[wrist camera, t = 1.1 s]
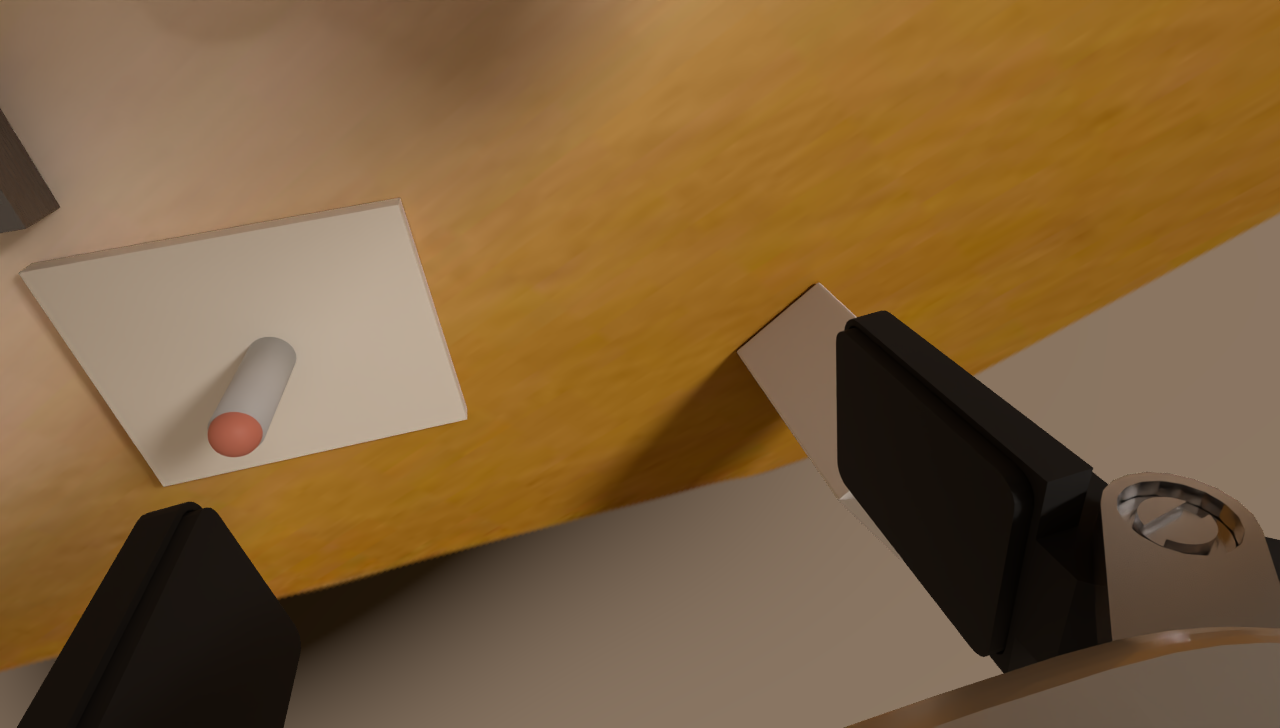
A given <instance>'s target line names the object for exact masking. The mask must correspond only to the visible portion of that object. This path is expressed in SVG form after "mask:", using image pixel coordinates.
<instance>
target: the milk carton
mask: <svg viewBox="0 0 1280 728" xmlns="http://www.w3.org/2000/svg"><path fill="white" fill-rule="evenodd" d="M853 318H857V317H856V316H855V315H854V314H853V313H852V312H851V311H850V310H849V309H847V308H846V307H845V306H844V305H843V304H842V303H841V302H840V301H839V300H838V299H837V298H836V297H834V296H833V295H832V294H831V293H830V292H829V291H828V290H827V289H826V288H825V287H824V286H823V285H821V284H820V283H817V284H816V285H814V286H813V287H812V288H811V289H810V290H809V291H807V292H806V293H805V294H804V295H803V296H801V297H800V298H799V299H798V300H797V301H795V302H794V303H793V304H792V305H791V306H790V307H788V308H787V309H786V310H785V311H784V312H782V313H781V314H780V315H779V316H778V317H777V318H775V319H774V320H773V321H772V322H771V323H769V324H768V325H767V326H766V327H765V328H764V329H762V330H761V331H760V332H759V333H758V334H757V335H755V336H754V337H753V338H752V339H751V340H749V341H748V342H747V343H746V344H745V345H744V346H742V347H741V348H740V349H739V350H738V351H737V353H738V355H739V356H740V358H741V359H742V361H743V362H744V364H745V365H746V367H747V368H748V370H749V371H750V372H751V374H752V375H753V377H754V378H755V380H756V381H757V383H758V384H759V386H760V387H761V389H762V390H763V391H764V393H765V394H766V396H767V397H768V399H769V400H770V402H771V403H772V405H773V406H774V407H775V409H776V410H777V412H778V413H779V415H780V416H781V418H782V419H783V421H784V422H785V424H786V425H787V426H788V428H789V429H790V431H791V432H792V434H793V435H794V437H795V438H796V440H797V441H798V442H799V444H800V445H801V447H802V448H803V450H804V451H805V453H806V454H807V456H808V457H809V459H810V460H811V461H812V463H813V464H814V466H815V467H816V468H817V470H818V472H819V473H820V475H821V476H822V478H823V479H824V480H825V482H826V483H827V484H828V486H829V488H830V489H831V491H832V492H833V493H834V495H835V496H836V498H837V499H838V501H839V502H840V503H841V504H842V505H843V506H844V507H845V508H846V509H847V510H848V511H849V512H850V513H851V514H852V515H853V516H854V517H856V519H858V520H859V521H860V522H861V523H862V524H863V525H864V526H865V527H866V528H867V529H868V530H869V531H870V532H871V533H872V534H873V535H875V537H876V538H878V539H879V540H880V541H881V542H882V543H883V544H884V545H885V546H886V547H887V548H888V549H889V550H890V551H891V552H892V553H893V554H894V555H896V556H897V557H898V558H899V559H901V560H903V559H902V558H901V557H900V555H899V554H898V553H897V552H896V550H895V549H894V548H893V546H892V545H891V544H890V543H889V541H888V540H887V539H886V537H885V536H884V535H883V534H882V532H881V531H880V530H879V528H878V527H877V526H876V525H875V523H874V522H873V521H872V519H871V518H870V517H869V515H868V514H867V513H866V512H865V510H864V509H863V508H862V506H861V505H860V504H859V503H858V501H857V500H856V499H855V497H854V496H853V495H852V494H851V492H850V491H849V490H848V488H847V487H846V486H845V484H844V483H843V481H842V479H841V476H840V473H839V470H838V465H837V398H836V337H837V334H838V333H839V332H841V331H844V329H845V325H846V322H847V321H848V320H850V319H853Z"/></svg>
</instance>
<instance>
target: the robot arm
mask: <svg viewBox="0 0 1280 728" xmlns="http://www.w3.org/2000/svg"><path fill="white" fill-rule="evenodd" d="M836 398H837V465H838V470H839V473H840V476H841V479H842V481H843V483H844V484H845V486H846V487H847V488H848V490H849V491H850V492H851V494H852V495H853V496H854V497H855V499H856V500H857V501H858V503H859V504H860V505H861V506H862V508H863V509H864V510H865V512H866V513H867V514H868V515H869V517H870V518H871V519H872V521H873V522H874V523H875V525H876V526H877V527H878V528H879V530H880V531H881V532H882V534H883V535H884V536H885V537H886V539H887V540H888V541H889V543H890V544H891V545H892V546H893V548H894V549H895V550H896V552H897V553H898V554H899V555H900V557H901V558H902V559H903V561H904V562H905V563H906V565H907V566H908V567H909V568H910V570H911V571H912V572H913V573H914V575H915V576H916V577H917V579H918V580H919V581H920V582H921V584H922V585H923V586H924V588H925V589H926V590H927V592H928V593H929V594H930V595H931V597H932V598H933V599H934V601H935V602H936V603H937V604H938V606H939V607H940V608H941V610H942V611H943V612H944V614H945V615H946V616H947V617H948V619H949V620H950V621H951V622H952V624H953V625H954V626H955V627H956V629H957V630H958V632H959V633H960V634H961V635H962V637H963V638H964V639H965V641H966V642H967V643H968V644H969V646H970V647H971V648H972V649H973V650H974V651H975V652H976V653H977V654H979V655H980V656H983V657H985V656H988V655H990V657H991V658H992V659H993V660H994V662H995V663H996V664H997V666H998V667H999V668H1000V669H1001V670H1002V672H1003V673H1004V674H1001V675H998V676H995V677H992V678H989V679H985V680H983V681H979V682H976V683H973V684H971V685H967V686H964V687H961V688H958V689H955V690H952V691H949V692H946V693H943V694H939V695H937V696H934V697H931V698H928V699H925V700H922V701H919V702H916V703H913V704H911V705H907V706H905V707H902V708H899V709H896V710H893V711H890V712H887V713H884V714H882V715H879V716H876V717H873V718H870V719H867V720H864V721H861V722H858V723H856V724H853V725H850V726H847V727H844V728H1280V540H1277V539H1272V538H1267V537H1265V536H1264V533H1263V530H1262V529H1261V527H1260V525H1259V524H1258V522H1257V520H1256V518H1255V517H1254V515H1253V514H1252V513H1251V512H1250V511H1249V510H1248V509H1246V508H1245V507H1244V506H1243V505H1242V504H1241V503H1240V502H1239V501H1238V500H1236V499H1234V498H1233V497H1231V496H1229V495H1228V494H1226V493H1224V492H1223V491H1221V490H1219V489H1218V488H1215V487H1212V486H1210V485H1208V484H1205V483H1203V482H1200V481H1198V480H1195V479H1192V478H1187V477H1183V476H1179V475H1174V474H1170V473H1156V472H1142V473H1134V474H1127V475H1124V476H1122V477H1120V478H1117V479H1115V480H1113V481H1112V482H1110V484H1109V485H1108V484H1107V483H1106V482H1104V481H1103V480H1102V479H1100V478H1099V477H1098V476H1097V475H1095V474H1094V473H1093V472H1092V470H1093V467H1091V466H1090V465H1089V464H1087V463H1086V462H1085V461H1083V460H1082V459H1081V458H1080V457H1078V456H1077V455H1076V454H1074V453H1073V452H1072V451H1070V450H1069V449H1068V448H1066V447H1065V446H1064V445H1063V444H1061V443H1060V442H1058V441H1057V440H1056V439H1054V438H1053V437H1052V436H1051V435H1049V434H1048V433H1047V432H1045V431H1044V430H1043V429H1042V428H1040V427H1039V426H1037V425H1036V424H1035V423H1034V422H1032V421H1031V420H1030V419H1028V418H1027V417H1026V416H1024V415H1023V414H1022V413H1021V412H1019V411H1018V410H1016V409H1015V408H1014V407H1013V406H1011V405H1010V404H1009V403H1007V402H1006V401H1005V400H1003V399H1002V398H1001V397H1000V396H998V395H997V394H996V393H994V392H993V391H992V390H990V389H989V388H987V387H986V386H985V385H984V384H982V383H981V382H980V381H979V380H977V379H976V378H975V377H973V376H972V375H971V374H969V373H968V372H967V371H965V370H964V369H963V368H962V367H960V366H959V365H958V364H956V363H955V362H954V361H952V360H951V359H950V358H948V357H947V356H946V355H944V354H943V353H942V352H941V351H939V350H938V349H937V348H935V347H934V346H933V345H931V344H930V343H929V342H927V341H926V340H925V339H924V338H922V337H921V336H920V335H918V334H917V333H916V332H914V331H913V330H912V329H910V328H909V327H908V326H906V325H905V324H904V323H903V322H901V321H900V320H899V319H897V318H896V317H895V316H893V315H892V314H891V313H889V312H887V311H878V312H875V313H871V314H868V315H864V316H860V317H857V318H853V319H850V320H848V321H847V322H846V325H845V329H844V331H841V332H839V333H838V334H837V337H836ZM300 651H301V642H300V636H299V633H298V630H297V628H296V626H295V624H294V623H293V622H292V620H291V619H290V617H289V616H288V614H287V613H286V611H285V610H284V609H283V607H282V606H281V604H280V603H279V601H278V600H277V598H276V597H275V596H274V594H273V593H272V591H271V590H270V588H269V587H268V585H267V584H266V583H265V581H264V580H263V578H262V577H261V575H260V574H259V572H258V571H257V570H256V568H255V567H254V565H253V564H252V562H251V561H250V559H249V558H248V557H247V555H246V554H245V552H244V551H243V549H242V548H241V546H240V545H239V544H238V542H237V541H236V539H235V538H234V536H233V535H232V533H231V532H230V530H229V529H228V528H227V526H226V525H225V523H224V522H223V520H222V519H221V517H220V516H219V515H218V513H217V512H216V511H215V510H213V509H212V508H203V509H202V507H201V506H200V505H198V504H196V503H194V502H186V503H182V504H179V505H175V506H171V507H168V508H164V509H160V510H157V511H153V512H150V513H147V514H145V515H142V516H141V517H140V519H139V520H138V521H137V523H136V524H135V526H134V528H133V529H132V531H131V533H130V535H129V536H128V538H127V540H126V541H125V543H124V545H123V547H122V548H121V550H120V552H119V553H118V555H117V557H116V559H115V560H114V562H113V564H112V565H111V567H110V569H109V571H108V572H107V574H106V576H105V577H104V579H103V581H102V583H101V584H100V586H99V588H98V589H97V591H96V593H95V595H94V596H93V598H92V600H91V601H90V603H89V605H88V607H87V608H86V610H85V612H84V613H83V615H82V617H81V619H80V620H79V622H78V624H77V625H76V627H75V629H74V631H73V632H72V634H71V636H70V637H69V639H68V641H67V643H66V644H65V646H64V648H63V649H62V651H61V653H60V654H59V656H58V658H57V660H56V661H55V663H54V665H53V666H52V668H51V670H50V672H49V674H48V675H47V677H46V678H45V680H44V682H43V684H42V685H41V687H40V689H39V690H38V692H37V694H36V696H35V697H34V699H33V701H32V702H31V704H30V706H29V708H28V709H27V711H26V713H25V715H24V716H23V718H22V720H21V721H20V723H19V725H18V726H17V728H283V727H284V722H285V719H286V714H287V710H288V705H289V701H290V696H291V692H292V688H293V683H294V679H295V675H296V670H297V665H298V661H299V657H300Z"/></svg>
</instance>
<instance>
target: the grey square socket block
mask: <svg viewBox="0 0 1280 728" xmlns="http://www.w3.org/2000/svg"><path fill="white" fill-rule="evenodd" d="M58 208H60V206H59V205H58V203H57V201H56V200H55V198H54V196H53V195H52V193H51V191H50V190H49V188H48V187H47V185H46V183H45V182H44V180H43V178H42V177H41V175H40V173H39V172H38V170H37V168H36V167H35V165H34V163H33V162H32V160H31V159H30V157H29V155H28V154H27V152H26V150H25V149H24V147H23V145H22V144H21V142H20V140H19V139H18V137H17V135H16V134H15V132H14V131H13V129H12V127H11V126H10V124H9V122H8V121H7V119H6V117H5V116H4V114H3V112H2V111H1V109H0V233H3V232H9V231H15V230H21V229H26V228H28V227H29V226H31V225H33V224H34V223H36V222H37V221H39V220H41V219H42V218H44V217H45V216H47V215H48V214H50V213H52V212H53V211H55V210H56V209H58Z"/></svg>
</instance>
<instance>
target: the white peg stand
mask: <svg viewBox="0 0 1280 728" xmlns="http://www.w3.org/2000/svg"><path fill="white" fill-rule="evenodd" d="M19 275H20V276H21V278H22V279H23V281H24V282H25V284H26V285H27V287H28V288H29V290H30V291H31V293H32V294H33V295H34V297H35V298H36V300H37V301H38V303H39V304H40V306H41V307H42V309H43V310H44V312H45V313H46V315H47V316H48V318H49V319H50V320H51V322H52V323H53V325H54V326H55V328H56V329H57V331H58V332H59V334H60V335H61V337H62V338H63V340H64V341H65V343H66V344H67V345H68V347H69V348H70V350H71V351H72V353H73V354H74V356H75V357H76V359H77V360H78V362H79V363H80V365H81V366H82V368H83V369H84V370H85V372H86V373H87V375H88V376H89V378H90V379H91V381H92V382H93V384H94V385H95V387H96V388H97V390H98V391H99V393H100V394H101V395H102V397H103V398H104V400H105V401H106V403H107V404H108V406H109V407H110V409H111V410H112V412H113V413H114V415H115V416H116V418H117V419H118V420H119V422H120V423H121V425H122V426H123V428H124V429H125V431H126V432H127V434H128V435H129V437H130V438H131V440H132V441H133V443H134V444H135V445H136V447H137V448H138V450H139V451H140V453H141V454H142V456H143V457H144V459H145V460H146V462H147V463H148V465H149V466H150V468H151V469H152V470H153V472H154V473H155V475H156V476H157V478H158V479H159V481H160V482H161V484H162V485H163V487H165V486H169V485H174V484H178V483H183V482H187V481H192V480H196V479H201V478H205V477H210V476H214V475H219V474H223V473H228V472H232V471H237V470H241V469H246V468H250V467H255V466H259V465H264V464H268V463H273V462H277V461H282V460H286V459H291V458H295V457H300V456H304V455H309V454H313V453H318V452H322V451H327V450H331V449H336V448H340V447H345V446H349V445H354V444H358V443H363V442H367V441H372V440H376V439H381V438H385V437H390V436H394V435H399V434H403V433H408V432H412V431H417V430H421V429H425V428H430V427H434V426H439V425H443V424H448V423H452V422H457V421H461V420H466V419H467V407H466V404H465V400H464V397H463V394H462V391H461V388H460V385H459V381H458V378H457V375H456V372H455V369H454V366H453V363H452V359H451V356H450V353H449V350H448V347H447V344H446V340H445V337H444V334H443V331H442V328H441V325H440V322H439V318H438V315H437V312H436V309H435V306H434V303H433V299H432V296H431V293H430V290H429V287H428V284H427V281H426V277H425V274H424V271H423V268H422V265H421V262H420V258H419V255H418V252H417V249H416V246H415V243H414V240H413V236H412V233H411V230H410V227H409V224H408V221H407V218H406V214H405V211H404V208H403V205H402V202H401V199H400V198H395V199H389V200H384V201H378V202H372V203H367V204H361V205H356V206H350V207H344V208H339V209H333V210H328V211H322V212H316V213H311V214H305V215H300V216H294V217H288V218H283V219H277V220H272V221H266V222H260V223H255V224H249V225H244V226H238V227H232V228H227V229H221V230H216V231H210V232H205V233H199V234H193V235H188V236H182V237H177V238H171V239H165V240H160V241H154V242H149V243H143V244H137V245H132V246H126V247H121V248H115V249H109V250H104V251H98V252H93V253H87V254H81V255H76V256H70V257H65V258H59V259H53V260H48V261H42V262H37V263H32V264H30V265H29V266H27V267H26V268H25V269H23V270H22V271H20V272H19Z"/></svg>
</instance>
